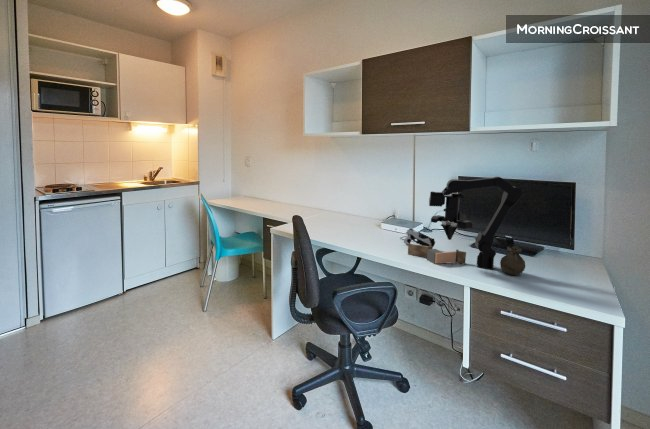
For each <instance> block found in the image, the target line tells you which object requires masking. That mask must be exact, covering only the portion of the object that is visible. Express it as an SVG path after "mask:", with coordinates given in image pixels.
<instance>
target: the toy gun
mask: <svg viewBox="0 0 650 429" xmlns="http://www.w3.org/2000/svg"><path fill="white" fill-rule="evenodd" d="M405 234H406V235H407V236H405V238H404V239H403V243H404V244H405V245H406V246H408V244H411V242H412V241H413V243H416V245H422V246H429V245H430V246H432V249H434V247H435V246H436V241H435V238H433V237H430V236H427V235H426V234H423V233H421V232H419V231H417V230H414V229H413V228H408V229H407V230H406V232H405Z"/></svg>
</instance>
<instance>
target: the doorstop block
mask: <svg viewBox="0 0 650 429" xmlns="http://www.w3.org/2000/svg"><path fill="white" fill-rule="evenodd" d="M441 252H442V251H441V250H439V249H436V248H433V249H428V251H427V257H426V261H427V262H430V263H432V264H433V265H435V253H441Z"/></svg>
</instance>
